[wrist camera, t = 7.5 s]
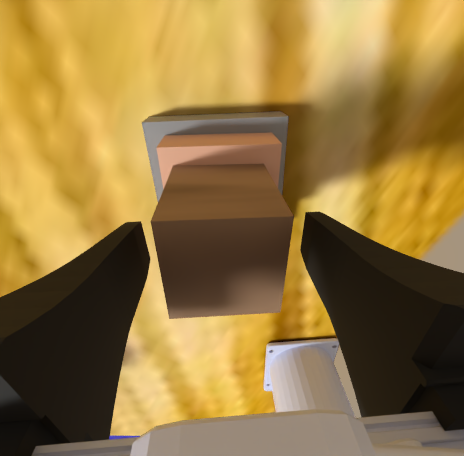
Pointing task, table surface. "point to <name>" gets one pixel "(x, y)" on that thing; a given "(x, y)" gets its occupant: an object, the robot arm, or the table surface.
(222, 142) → the terracotta cap
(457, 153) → the table surface
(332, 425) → the robot arm
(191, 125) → the gray slab
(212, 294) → the walnut block
